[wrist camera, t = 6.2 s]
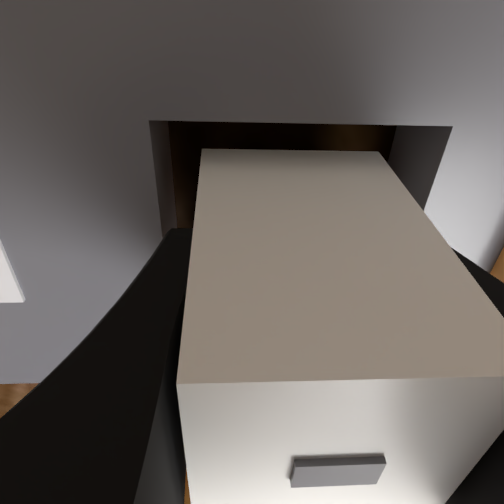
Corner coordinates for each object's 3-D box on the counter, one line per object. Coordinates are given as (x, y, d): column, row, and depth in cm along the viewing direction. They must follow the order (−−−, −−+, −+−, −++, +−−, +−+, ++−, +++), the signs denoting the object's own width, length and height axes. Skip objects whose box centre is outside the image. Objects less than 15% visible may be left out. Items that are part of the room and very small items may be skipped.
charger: (206, 283, 11) (194, 537, 6) (201, 148, 9) (175, 392, 4) (346, 282, 12) (434, 526, 7) (378, 151, 9) (552, 382, 4)
